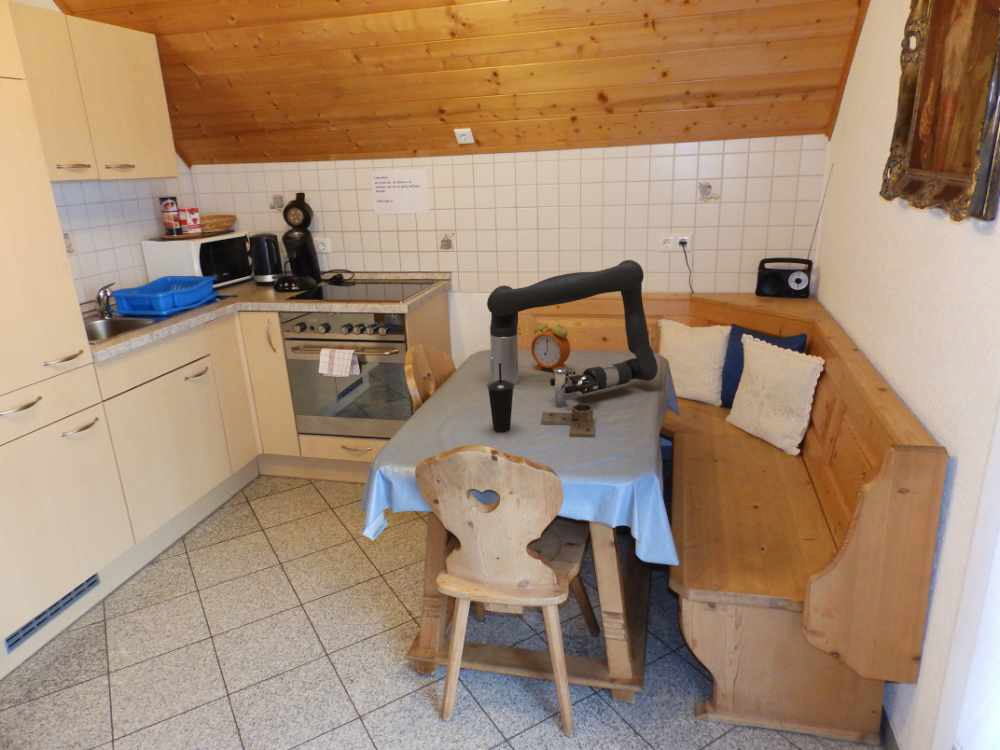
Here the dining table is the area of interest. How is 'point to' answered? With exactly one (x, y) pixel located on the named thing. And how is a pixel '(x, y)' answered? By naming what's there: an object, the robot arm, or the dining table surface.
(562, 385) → the hinge pin
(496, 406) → the drinking cup
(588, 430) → the hinge base
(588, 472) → the dining table surface
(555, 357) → the alarm clock
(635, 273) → the robot arm
